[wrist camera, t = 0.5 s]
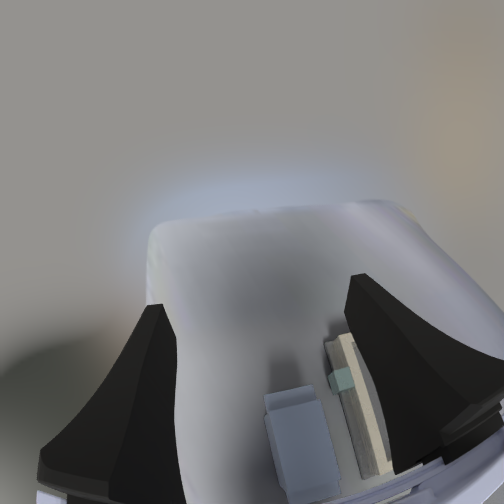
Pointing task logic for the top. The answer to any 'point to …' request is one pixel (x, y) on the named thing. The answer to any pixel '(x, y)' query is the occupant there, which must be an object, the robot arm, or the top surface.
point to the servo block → (301, 445)
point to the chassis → (359, 406)
